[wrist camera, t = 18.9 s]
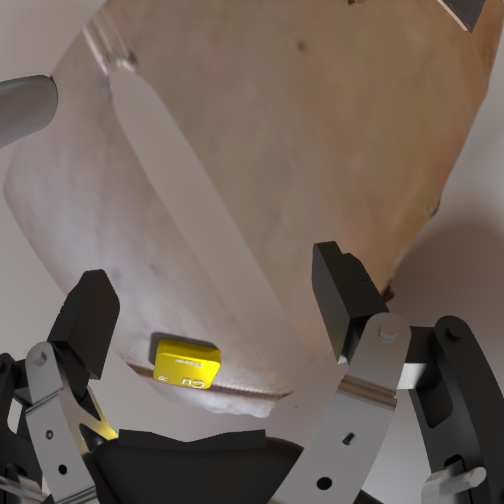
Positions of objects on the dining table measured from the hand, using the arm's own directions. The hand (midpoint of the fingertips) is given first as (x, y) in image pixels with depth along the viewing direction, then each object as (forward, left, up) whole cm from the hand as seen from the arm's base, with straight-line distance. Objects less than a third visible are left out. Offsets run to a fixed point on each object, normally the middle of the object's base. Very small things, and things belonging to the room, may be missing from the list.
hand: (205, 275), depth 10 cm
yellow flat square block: (-17, -51, -31) cm, 62 cm away
